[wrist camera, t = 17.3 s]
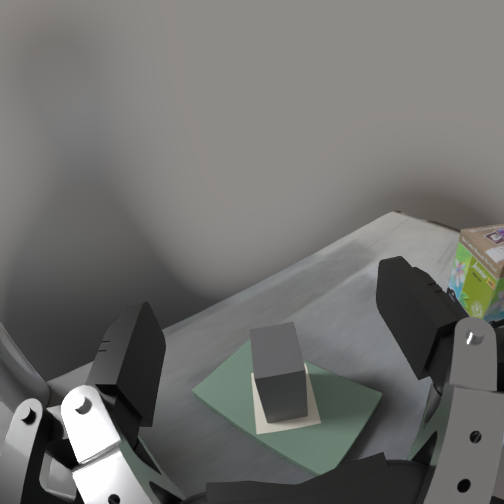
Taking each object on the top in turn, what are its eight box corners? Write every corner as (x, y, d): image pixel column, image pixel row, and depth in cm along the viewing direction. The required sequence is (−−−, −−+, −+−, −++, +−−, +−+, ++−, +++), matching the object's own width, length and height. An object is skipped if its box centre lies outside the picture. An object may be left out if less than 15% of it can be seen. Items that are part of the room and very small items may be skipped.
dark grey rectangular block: (307, 416, 28) (305, 369, 23) (267, 423, 28) (254, 378, 23) (298, 373, 33) (293, 321, 29) (262, 379, 33) (249, 329, 29)
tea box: (467, 356, 29) (501, 266, 22) (439, 311, 38) (457, 227, 31) (528, 328, 28) (559, 248, 21) (499, 293, 37) (519, 217, 30)
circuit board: (194, 396, 34) (183, 376, 32) (254, 343, 41) (249, 321, 39) (326, 481, 21) (328, 470, 19) (380, 399, 28) (387, 378, 26)
